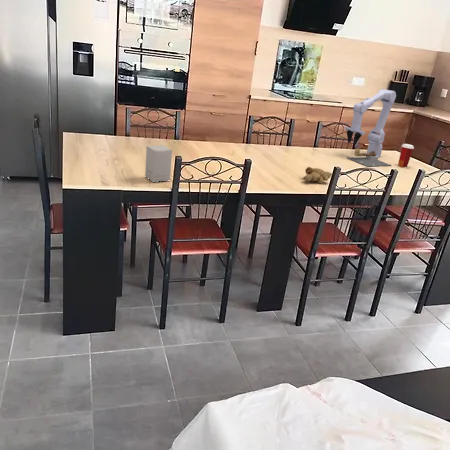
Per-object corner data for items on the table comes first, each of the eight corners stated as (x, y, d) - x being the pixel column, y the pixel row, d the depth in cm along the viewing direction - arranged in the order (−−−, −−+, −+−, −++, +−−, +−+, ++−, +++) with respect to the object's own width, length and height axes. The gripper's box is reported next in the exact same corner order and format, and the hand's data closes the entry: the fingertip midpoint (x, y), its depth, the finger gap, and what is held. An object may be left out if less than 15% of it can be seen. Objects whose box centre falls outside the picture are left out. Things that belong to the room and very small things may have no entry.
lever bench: (370, 157, 302) (371, 154, 301) (391, 166, 287) (392, 162, 286) (346, 158, 293) (347, 154, 292) (367, 166, 278) (368, 162, 276)
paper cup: (408, 166, 293) (414, 145, 287) (408, 168, 286) (414, 147, 281) (396, 163, 295) (401, 142, 289) (396, 166, 288) (401, 145, 283)
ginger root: (326, 174, 244) (329, 161, 240) (331, 190, 232) (335, 177, 227) (297, 172, 244) (300, 159, 239) (301, 188, 231) (304, 175, 226)
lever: (372, 154, 299) (373, 147, 298) (377, 156, 296) (378, 149, 294) (352, 154, 291) (353, 148, 289) (356, 156, 288) (358, 149, 286)
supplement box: (170, 181, 207) (172, 150, 201) (152, 183, 202) (154, 150, 196) (162, 175, 214) (164, 144, 208) (144, 177, 209) (146, 145, 203)
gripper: (343, 120, 290) (339, 140, 296) (362, 125, 280) (357, 146, 285) (350, 120, 294) (346, 140, 300) (368, 124, 284) (363, 145, 290)
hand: (351, 143), depth 293 cm, fingers open, 4 cm apart
